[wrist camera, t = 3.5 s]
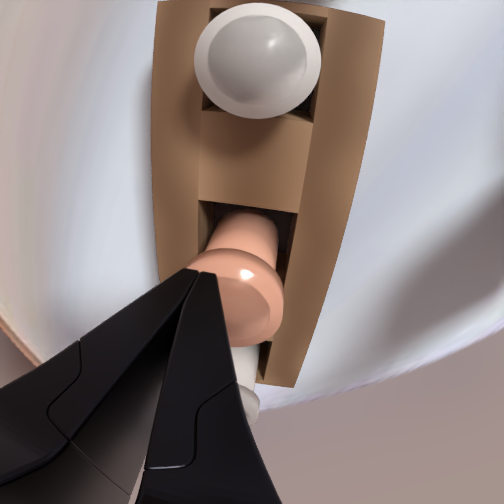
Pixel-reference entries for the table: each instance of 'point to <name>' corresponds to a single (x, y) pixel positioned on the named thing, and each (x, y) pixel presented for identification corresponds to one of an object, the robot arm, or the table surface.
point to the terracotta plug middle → (245, 275)
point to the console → (263, 160)
